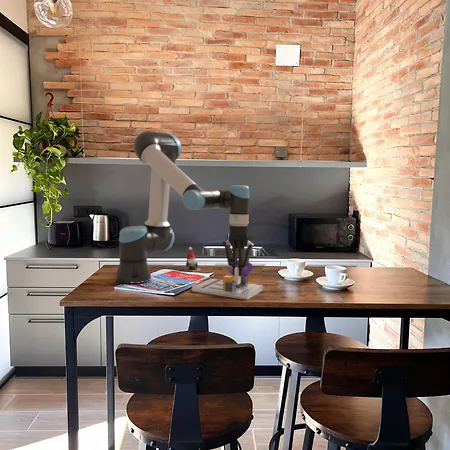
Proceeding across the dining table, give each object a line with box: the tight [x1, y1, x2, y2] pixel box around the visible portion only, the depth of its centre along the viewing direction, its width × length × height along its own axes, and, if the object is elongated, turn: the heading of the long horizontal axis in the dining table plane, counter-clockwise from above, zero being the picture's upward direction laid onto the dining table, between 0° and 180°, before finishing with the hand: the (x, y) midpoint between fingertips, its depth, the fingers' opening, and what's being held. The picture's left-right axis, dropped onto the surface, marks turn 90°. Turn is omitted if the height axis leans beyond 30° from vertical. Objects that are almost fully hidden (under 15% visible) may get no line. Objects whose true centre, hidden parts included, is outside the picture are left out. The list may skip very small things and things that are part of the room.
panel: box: [191, 274, 264, 301], centre depth 172 cm, size 24×16×6 cm, turn 63°
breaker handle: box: [222, 274, 234, 286], centre depth 172 cm, size 3×3×4 cm
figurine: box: [184, 246, 202, 272], centre depth 211 cm, size 8×10×12 cm
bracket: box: [228, 261, 253, 276], centre depth 184 cm, size 12×7×7 cm
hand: (237, 283), depth 170 cm, fingers closed
